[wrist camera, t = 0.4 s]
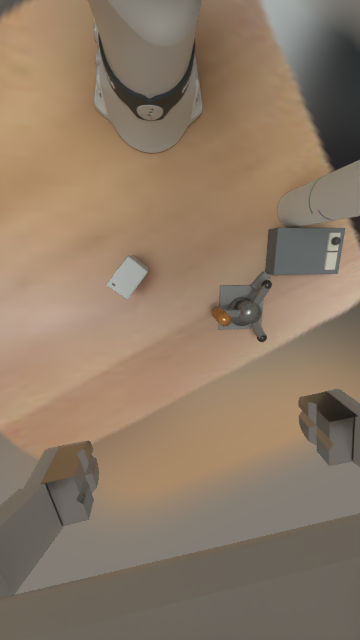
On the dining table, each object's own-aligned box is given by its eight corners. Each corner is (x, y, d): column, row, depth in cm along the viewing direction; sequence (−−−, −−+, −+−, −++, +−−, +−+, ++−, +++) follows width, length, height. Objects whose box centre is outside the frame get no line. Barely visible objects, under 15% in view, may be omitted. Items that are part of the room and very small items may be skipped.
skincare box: (132, 290, 52) (126, 301, 40) (115, 278, 51) (104, 285, 39) (150, 267, 51) (148, 271, 39) (133, 254, 50) (126, 254, 38)
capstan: (208, 278, 52) (220, 284, 43) (262, 277, 53) (285, 282, 44) (207, 337, 56) (217, 354, 47) (257, 335, 57) (277, 351, 48)
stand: (222, 229, 50) (230, 227, 45) (331, 229, 53) (351, 227, 47) (218, 329, 56) (225, 337, 51) (317, 325, 58) (333, 333, 53)
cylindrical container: (293, 234, 52) (411, 219, 28) (270, 211, 50) (375, 174, 26) (316, 207, 51) (460, 166, 27) (294, 182, 49) (427, 115, 25)
